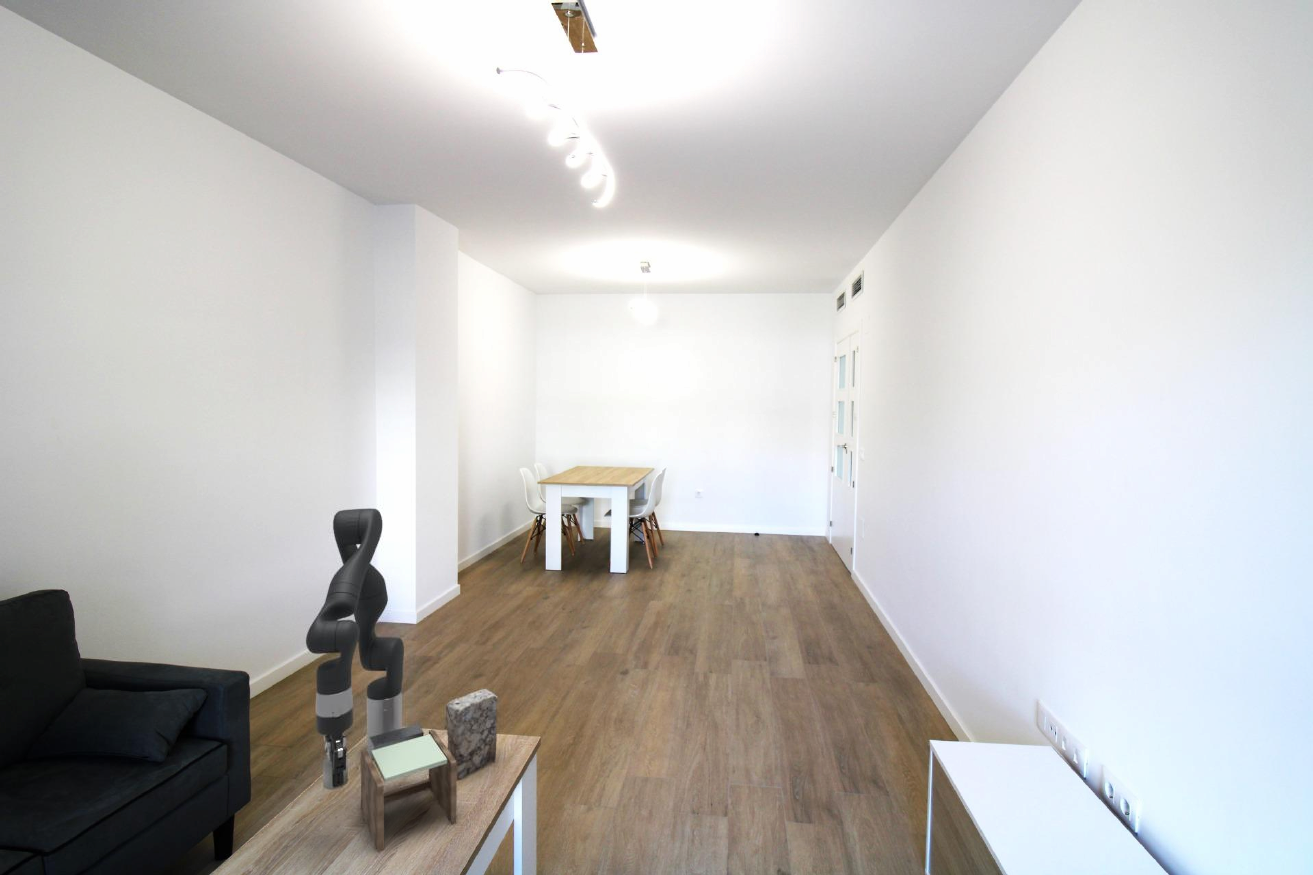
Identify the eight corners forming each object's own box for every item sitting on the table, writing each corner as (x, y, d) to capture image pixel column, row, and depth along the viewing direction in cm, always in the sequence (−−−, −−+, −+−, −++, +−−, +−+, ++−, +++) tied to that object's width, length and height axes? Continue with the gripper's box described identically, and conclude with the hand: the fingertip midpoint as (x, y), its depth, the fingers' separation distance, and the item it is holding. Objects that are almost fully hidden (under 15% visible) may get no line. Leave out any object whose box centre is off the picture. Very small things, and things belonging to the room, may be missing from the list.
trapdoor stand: (361, 808, 155) (360, 749, 154) (433, 784, 165) (433, 729, 165) (378, 851, 140) (377, 786, 139) (456, 822, 150) (456, 761, 150)
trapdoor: (365, 749, 159) (365, 738, 159) (422, 733, 167) (422, 722, 167) (384, 791, 142) (384, 778, 142) (447, 771, 150) (447, 759, 150)
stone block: (460, 783, 166) (460, 709, 165) (444, 774, 170) (444, 702, 169) (499, 760, 177) (499, 691, 176) (483, 752, 181) (483, 685, 180)
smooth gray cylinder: (321, 780, 144) (321, 757, 143) (345, 773, 147) (345, 750, 146) (325, 792, 140) (324, 768, 139) (349, 784, 143) (349, 761, 142)
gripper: (311, 699, 146) (312, 769, 147) (321, 725, 134) (322, 801, 135) (346, 690, 150) (347, 759, 151) (359, 715, 139) (360, 789, 140)
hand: (335, 778), depth 143 cm, fingers closed on smooth gray cylinder, 5 cm apart
